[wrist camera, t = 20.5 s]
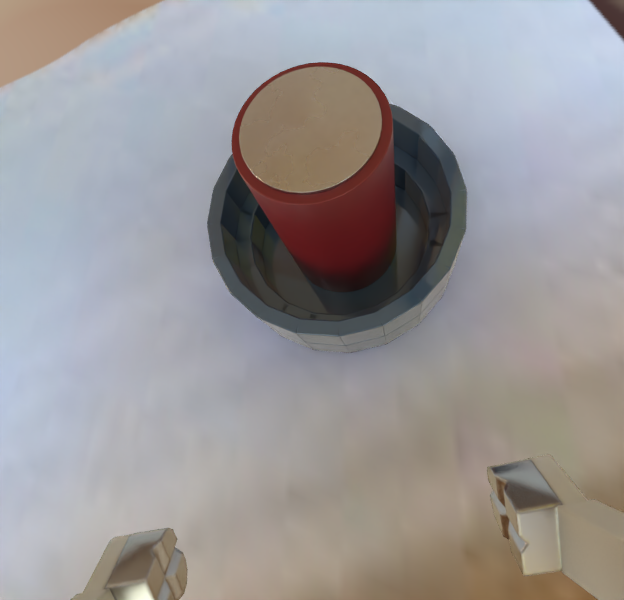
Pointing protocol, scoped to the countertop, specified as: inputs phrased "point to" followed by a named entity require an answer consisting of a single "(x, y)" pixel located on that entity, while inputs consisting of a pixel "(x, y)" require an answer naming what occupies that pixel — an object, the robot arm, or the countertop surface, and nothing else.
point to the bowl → (364, 302)
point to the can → (323, 170)
